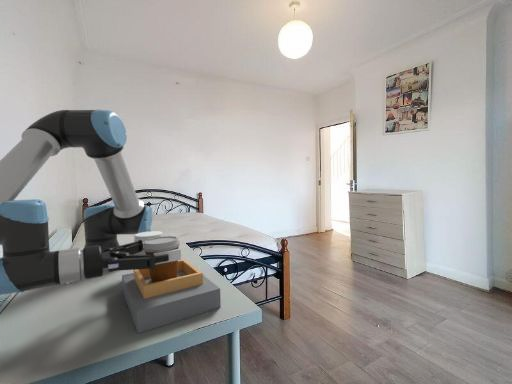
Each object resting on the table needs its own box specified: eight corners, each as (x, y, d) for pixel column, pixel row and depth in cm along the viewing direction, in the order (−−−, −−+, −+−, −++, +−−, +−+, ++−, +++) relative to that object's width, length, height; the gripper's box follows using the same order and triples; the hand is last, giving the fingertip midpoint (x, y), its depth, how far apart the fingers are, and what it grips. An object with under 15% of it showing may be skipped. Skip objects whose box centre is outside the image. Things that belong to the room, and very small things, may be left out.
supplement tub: (167, 275, 91) (166, 234, 90) (138, 281, 86) (136, 237, 85) (160, 267, 99) (159, 229, 98) (133, 273, 94) (131, 233, 93)
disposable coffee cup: (144, 293, 65) (140, 246, 64) (147, 280, 74) (143, 238, 73) (184, 286, 68) (180, 241, 67) (182, 274, 77) (178, 234, 76)
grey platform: (121, 286, 82) (119, 262, 81) (183, 273, 93) (182, 251, 93) (138, 333, 57) (136, 297, 57) (220, 307, 68) (219, 277, 68)
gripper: (82, 264, 72) (161, 251, 84) (84, 298, 51) (188, 274, 63) (81, 238, 72) (160, 228, 84) (82, 261, 51) (187, 244, 63)
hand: (172, 248), depth 73 cm, fingers open, 13 cm apart
